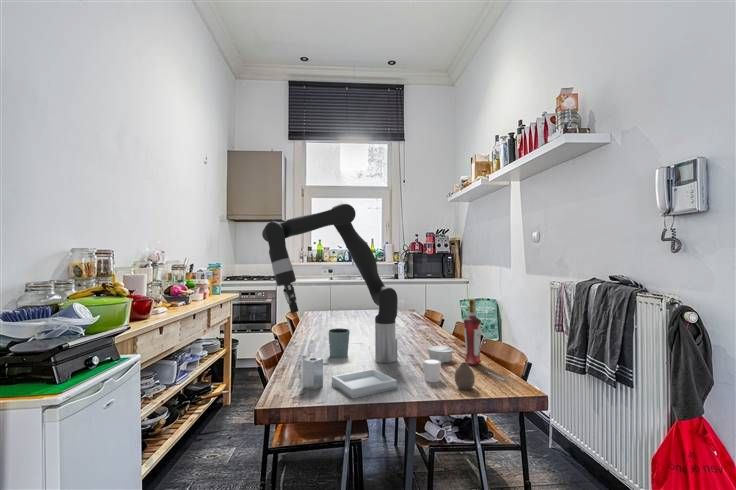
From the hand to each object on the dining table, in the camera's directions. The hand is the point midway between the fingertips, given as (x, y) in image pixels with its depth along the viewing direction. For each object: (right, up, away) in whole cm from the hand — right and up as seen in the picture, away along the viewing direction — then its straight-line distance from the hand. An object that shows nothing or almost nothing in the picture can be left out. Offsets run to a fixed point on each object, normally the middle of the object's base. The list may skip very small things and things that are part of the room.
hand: (294, 312), depth 142 cm
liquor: (+74, -26, +19) cm, 81 cm away
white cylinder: (+53, -26, -1) cm, 59 cm away
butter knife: (+75, -26, +11) cm, 81 cm away
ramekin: (+61, -27, +26) cm, 71 cm away
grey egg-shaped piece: (+63, -25, -11) cm, 68 cm away
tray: (+27, -25, -8) cm, 38 cm away
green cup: (+14, -27, +34) cm, 46 cm away
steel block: (+8, -25, -9) cm, 28 cm away
